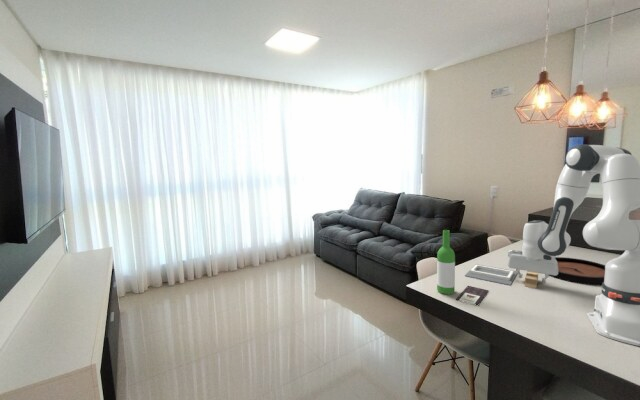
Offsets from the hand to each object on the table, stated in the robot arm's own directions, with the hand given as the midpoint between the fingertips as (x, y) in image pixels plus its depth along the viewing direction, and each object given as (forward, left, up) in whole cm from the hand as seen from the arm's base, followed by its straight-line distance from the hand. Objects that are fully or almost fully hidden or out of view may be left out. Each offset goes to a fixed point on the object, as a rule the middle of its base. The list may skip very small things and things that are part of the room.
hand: (531, 279), depth 147 cm
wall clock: (+28, -16, -2) cm, 32 cm away
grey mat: (+2, +18, -2) cm, 18 cm away
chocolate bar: (-31, +19, -2) cm, 36 cm away
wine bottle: (-34, +30, -2) cm, 45 cm away
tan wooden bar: (0, 0, -2) cm, 2 cm away
